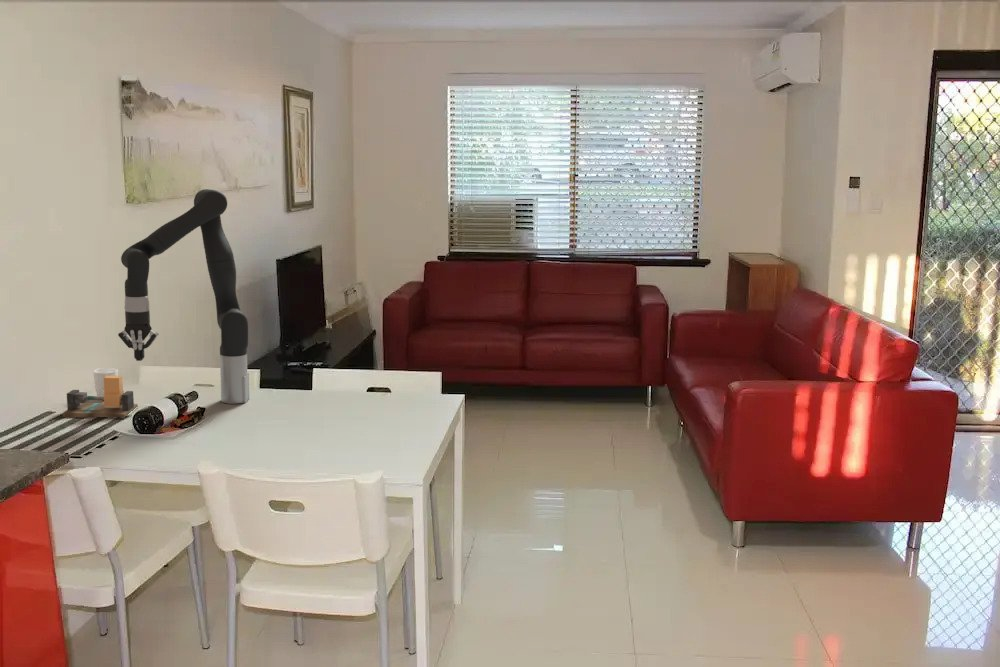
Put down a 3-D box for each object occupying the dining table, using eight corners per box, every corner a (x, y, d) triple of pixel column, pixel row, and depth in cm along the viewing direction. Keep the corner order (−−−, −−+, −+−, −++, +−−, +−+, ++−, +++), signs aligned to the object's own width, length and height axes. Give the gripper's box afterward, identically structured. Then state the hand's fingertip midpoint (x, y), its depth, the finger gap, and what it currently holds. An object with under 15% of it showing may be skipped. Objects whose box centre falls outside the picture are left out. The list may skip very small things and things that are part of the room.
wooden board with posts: (137, 408, 310) (136, 388, 308) (124, 418, 298) (123, 397, 296) (78, 406, 309) (77, 387, 307) (63, 416, 297) (61, 396, 296)
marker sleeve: (124, 403, 305) (123, 375, 303) (119, 406, 301) (118, 378, 299) (109, 402, 305) (107, 375, 303) (104, 406, 301) (102, 378, 299)
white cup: (90, 399, 318) (88, 372, 316) (104, 393, 325) (103, 367, 323) (109, 401, 316) (108, 374, 314) (123, 395, 324) (122, 368, 322)
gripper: (161, 307, 301) (163, 358, 304) (121, 306, 300) (123, 357, 304) (153, 311, 293) (155, 363, 297) (112, 310, 293) (115, 362, 296)
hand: (139, 360), depth 300 cm, fingers closed
